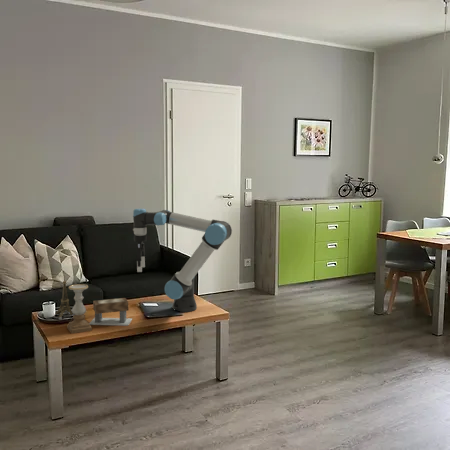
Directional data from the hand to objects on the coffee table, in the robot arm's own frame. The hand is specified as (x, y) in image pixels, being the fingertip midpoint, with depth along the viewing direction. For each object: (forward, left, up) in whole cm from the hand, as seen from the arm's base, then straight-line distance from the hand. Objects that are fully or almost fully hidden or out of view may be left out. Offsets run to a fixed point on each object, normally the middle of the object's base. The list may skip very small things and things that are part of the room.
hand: (141, 269), depth 306 cm
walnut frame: (+13, +22, -19) cm, 32 cm away
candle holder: (+27, +35, -26) cm, 51 cm away
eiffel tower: (+42, +13, -26) cm, 52 cm away
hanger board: (+13, +22, -26) cm, 36 cm away
